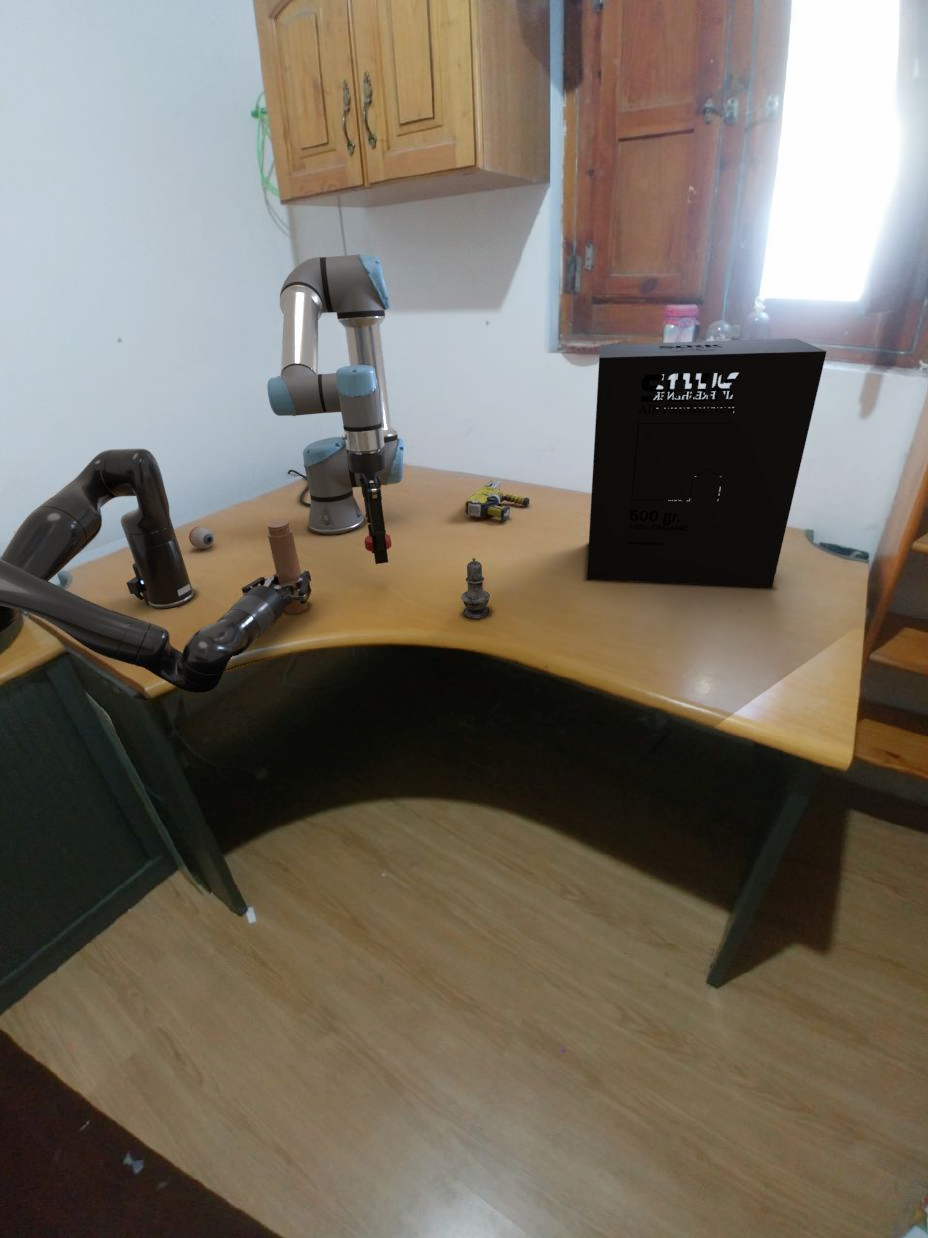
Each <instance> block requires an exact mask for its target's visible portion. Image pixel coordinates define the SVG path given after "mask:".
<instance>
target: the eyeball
mask: <svg viewBox="0 0 928 1238" xmlns="http://www.w3.org/2000/svg"><path fill="white" fill-rule="evenodd" d="M188 539H189V542H190V544H191V545H192V546H193V547H194V548H196V549H198V550H206V549H208V548H210V547H212V545H213V544H214V541H215V535H214V533H213V531H212V529H210V528H209V527H207V526H205V525H198V526H195V527H194V528H192V529H191V530H190V532H189V535H188Z"/></svg>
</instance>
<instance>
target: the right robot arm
mask: <svg viewBox="0 0 928 1238" xmlns="http://www.w3.org/2000/svg"><path fill="white" fill-rule="evenodd" d="M385 281H386V280H385V277H384V272H383V269H382V264H381V261H380V259H379V257H378V256H376V255H374V254H359V253H358V254H349V255H336V256H335V255H334V256H323V257H322V256H314V257H311V258H307V259H306V260H304V261H302V262H301V263H299V264H298V265H296V267H294V269H293V270H291V272H290V273H289V274H288V275H287V276H286V279H285V280H284V282H283V284H282V286H281V289H280V293H279V309H280V311H281V313H282V315H283V319H282V321H283V323H282V337H281V338H282V339H281V340H282V341H281V360H280V375H277V376H275V377H274V376H273V377H270V378H269V379H268V381H267V384H266V385H267V387H266V388H267V397H268V402H269V405H270V408H271V410H272V412H273V414H274V415H276V416H279V417H284V416H285V417H286V416H287V417H288V416H291V417H298V416H307V415H308V416H309V415H319V414H332V413H341V420H342V428H343V433H344V434H342V435H341V436H332V437H327V438H323V439H318V440H316V441H314V442H312V443H311V442H310V443H309V444H308V445H306V446H305V447H304V448H303V450H302V457H303V459H302V460H303V467H304V471H305V475H304V474H303V473H300V472H299V471H297V470H296V469H289V470H288V471H287V474H288V475H290V474H291V473H294V474H296V475H297V476H299V477H302V478H303V479H306V481H307V485H306V487H305V488H304V489H303V491H302V492H301V494H300V496H299V502H300V503H301V504H302V505H304V506H307V507H309V513H308V528H309V529H308V530H310V531H311V532H312V533H314V534H317V535H323V536H324V535H325V536H327V535H329V536H331V535H339V534H340V535H341V534H345V533H350V532H353V531H355V530H357V529H359V528H361V527H362V526H363V525H364V523H365V519H364V514H363V512H362V510H361V508H360V505H359V504H358V501H357V500H356V498H355V495H354V489H353V488H360V489H361V494H362V497H363V502H364V510H365V518H366V522H367V529H368V536H369V537H371V536H372V542H373V549H374V552H371V554H373V557H374V563H375V565H380V564H385V563H386V564H387V563H389V557H388V549H387V547H386V539H385V535H386V534H387V530H386V527H385V526H386V525H385V517H384V510H383V502H382V500H383V498H382V497H383V496H382V489H381V488H382V486H385V487H386V486H388V485H395V484H399V483H401V482H402V481H403V478H404V477H403V476H404V446H405V445H404V442H405V441H404V439H402V438H401V437H399V435H398V431H397V430H395V428H394V427H393V426H392V425H391V415H390V406H389V397H388V388H387V379H386V369H385V360H384V359H385V358H384V350H383V341H382V333H381V324H382V323H383V322H384V320H385V319H386V311H388V310H389V309H390V308H391V304H390V300H389V296H388V290H387V286H386V282H385ZM327 313H328V314H333V313H334V314H335V313H336V317H337V322H338V323H339V324H340V325H341V326H342V327H343V328H344V331H345V338H346V346H347V353H348V354H347V355H348V361H349V365H345V366H342V367H338V368H337V369H336V372H332V373H319V320H320V318H321V317H322V315H323V314H327ZM307 491H308V492H309V498H310V503H309V502H305V500H303V498H304V495H305V493H306V492H307Z"/></svg>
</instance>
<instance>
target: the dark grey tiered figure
mask: <svg viewBox="0 0 928 1238" xmlns="http://www.w3.org/2000/svg"><path fill="white" fill-rule="evenodd" d="M471 560H472V561H471ZM471 560H470V562H468V563H467V565H466V574H467V575H466V576H467V577H466V578H465V582H466V583H467V589H466V591H464V592H463V593H462V594H461V596H460V599H461V600H462V602H463V605H464V606H465V608H464V609H463V615H464V616H465V617H467V618H469V619H481V618H485V617H487V616H488V615H489V614H490V609H489V608H488V607H487V606H488V604H489V602H490V599H491V594H490V592H489V591H487V590H484V581H485V577H484V576H483V566H482V563H481V562H480V561H477V560H476V557H473V558H472V559H471Z"/></svg>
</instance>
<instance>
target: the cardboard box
mask: <svg viewBox="0 0 928 1238" xmlns="http://www.w3.org/2000/svg"><path fill="white" fill-rule="evenodd" d="M827 352H828V351H827V350H824V349H822V348H820V347H818V346H815V345H813V344H811V343H808V342H806V341H802V340H801V339H799V338H768V339H766V338H765V339H737V340H736V339H735V340H709V341H708V340H707V341H705V340H703V341H675V342H672V341H671V342H648V343H647V342H646V343H645V342H644V343H643V342H642V343H616V344H615V343H614V344H612V343H611V344H600V348H599V355H598V356H599V358H598V370H597V371H598V372H597V390H596V391H597V392H596V409H595V410H596V411H595V426H594V445H593V459H592V460H593V461H592V462H593V463H592V479H591V497H590V515H589V532H588V533H589V535H588V547H587V548H588V549H587V568H586V580H588V581H611V582H635V583H655V584H657V583H658V584H675V585H676V584H679V585H698V586H699V585H703V586H725V587H743V588H744V587H745V588H746V587H747V588H768V589H773V586H774V582H775V578H776V573H777V569H778V565H779V560H780V555H781V550H782V548H783V543H784V540H785V539H784V538H785V534H786V530H787V525H788V521H789V517H790V513H791V512H790V511H791V509H792V504H793V499H794V496H795V490H796V486H797V483H798V477H799V474H800V469H801V465H802V461H803V456H804V451H805V447H806V444H807V443H806V442H807V439H808V434H809V429H810V425H811V421H812V416H813V412H814V408H815V404H816V400H817V395H818V391H819V387H820V382H821V378H822V373H823V368H824V365H825V360H826V356H827ZM685 374H689V378H688V385H690V388H686V384H687V379H685V378H684V375H685ZM699 374H700V379H699V378H697V375H699ZM715 374H716V380H715V384H714V386H713V383H714V378H715ZM731 374H736V376H735V378H729V377H730V376H731ZM672 375H677V378H676V379H675V380H674V384H673V385H674V387H673V388H671V385H672V379H671V378H670V377H671V376H672ZM719 379H720V381H719ZM700 384H701V385H705V387H704V388H699V385H700ZM719 384H720V385H724V384H729V387H720V386H719ZM659 386H661V387H662V388H658V387H659Z"/></svg>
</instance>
